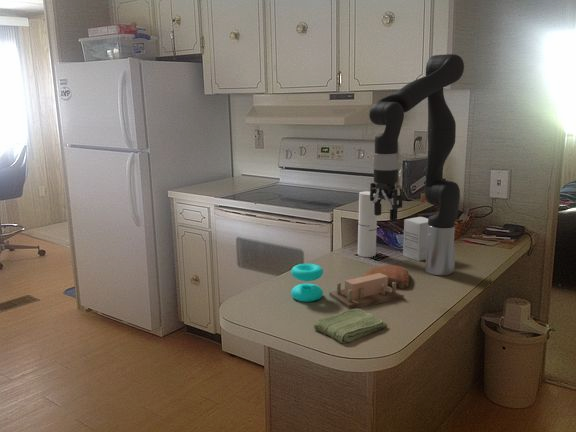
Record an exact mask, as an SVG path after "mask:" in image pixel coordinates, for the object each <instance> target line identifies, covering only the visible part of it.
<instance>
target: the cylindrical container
mask: <svg viewBox="0 0 576 432" xmlns="http://www.w3.org/2000/svg"><path fill="white" fill-rule="evenodd" d="M374 196H375V194H373V197H374ZM377 226H378V216H376V215H375V214H374V203H373V201H370V190H369V191H365V190H364V191H360V192H358V227H357V230H358V231H357V255H358V256H359V257H362V258H373V256H374V257H376V254H377V253H376V252H377Z"/></svg>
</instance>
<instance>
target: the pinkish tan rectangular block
mask: <svg viewBox="0 0 576 432" xmlns="http://www.w3.org/2000/svg"><path fill="white" fill-rule="evenodd" d="M382 284H385V285H386V286H385V292H386V291H387V286H389V285H388V276H386V275H383V274H381V273H377V274H372V275H368V276H365V275H364V276H360V277H355V278H351V279H345V280H344V289H345V296H346V297H348V290H352V300H354V299H358V298H360V288H364V296H363V297H366V296H370V295H374V294H378V293H381V289H382Z"/></svg>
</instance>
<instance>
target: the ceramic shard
mask: <svg viewBox="0 0 576 432" xmlns="http://www.w3.org/2000/svg"><path fill="white" fill-rule="evenodd" d="M377 273H381V274H383V275H386V276H388V286H389V287H392V282H396V288H400V289H408V287H409V281H410V275H409V271H408V269H407V268H406V267H403V266H400V265H397V264H396V265H380V266H376V267H374V268H370V269H368V270H366V271H364V274H363V275H364V276H368V275H372V274H377Z"/></svg>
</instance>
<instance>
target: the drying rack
mask: <svg viewBox="0 0 576 432" xmlns="http://www.w3.org/2000/svg"><path fill="white" fill-rule="evenodd" d="M385 286H386V285H385V284H382V289H381V293H378V294H374V295H370V296H366V297H363V296H364V288H360V298H358V299H354V300H352V290H348V297H346V296H345V288H344V289H342V283H341V282H337V283H336V290H333V291H329V297H331V298H332V299H333V300H335V301H336V302H338V303H340V305H342V306H344V307H345V308H347V310H350V309H357V308H360V307H365V306H371V305H376V304H382V303H386V302H390V301H391V302H392V301H396V300H397V301H398V300H402V299H404V296H405V295H404V294H403V293H402V292H400V291H398V290H397V287H396V282H392V286H390V285H388V286H387V291H386V292H385Z"/></svg>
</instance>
